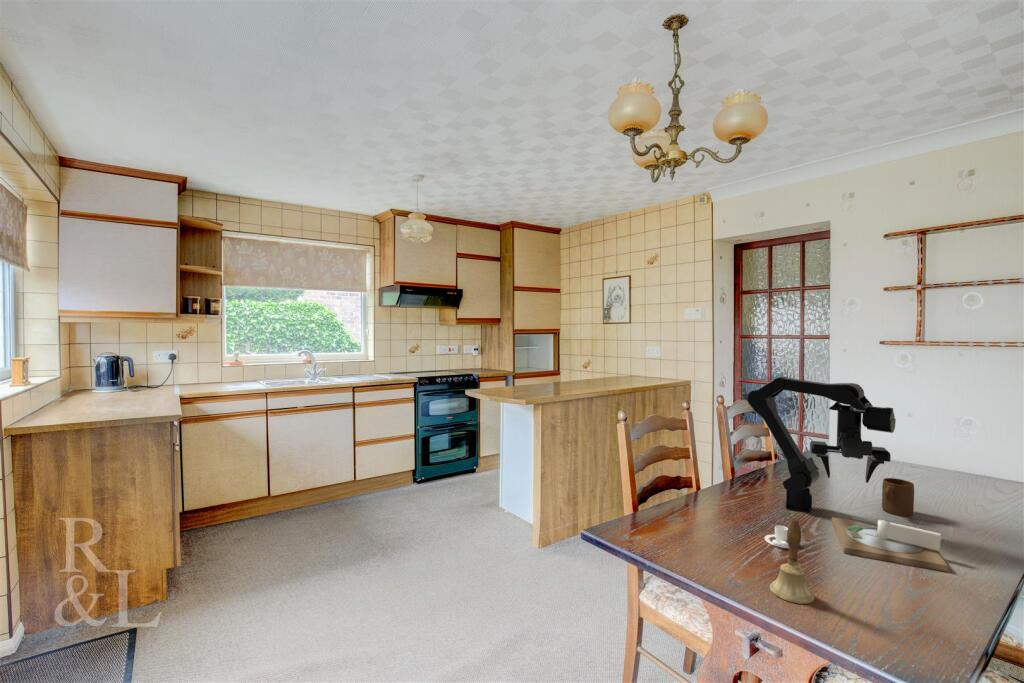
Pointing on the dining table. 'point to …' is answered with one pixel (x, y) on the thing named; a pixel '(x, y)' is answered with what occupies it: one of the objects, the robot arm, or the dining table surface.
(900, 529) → the dial pointer lever
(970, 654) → the dining table surface
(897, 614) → the dining table surface
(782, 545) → the teacup and saucer
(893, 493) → the mug
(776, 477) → the dining table surface
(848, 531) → the tuner board
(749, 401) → the robot arm
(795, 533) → the hand bell
